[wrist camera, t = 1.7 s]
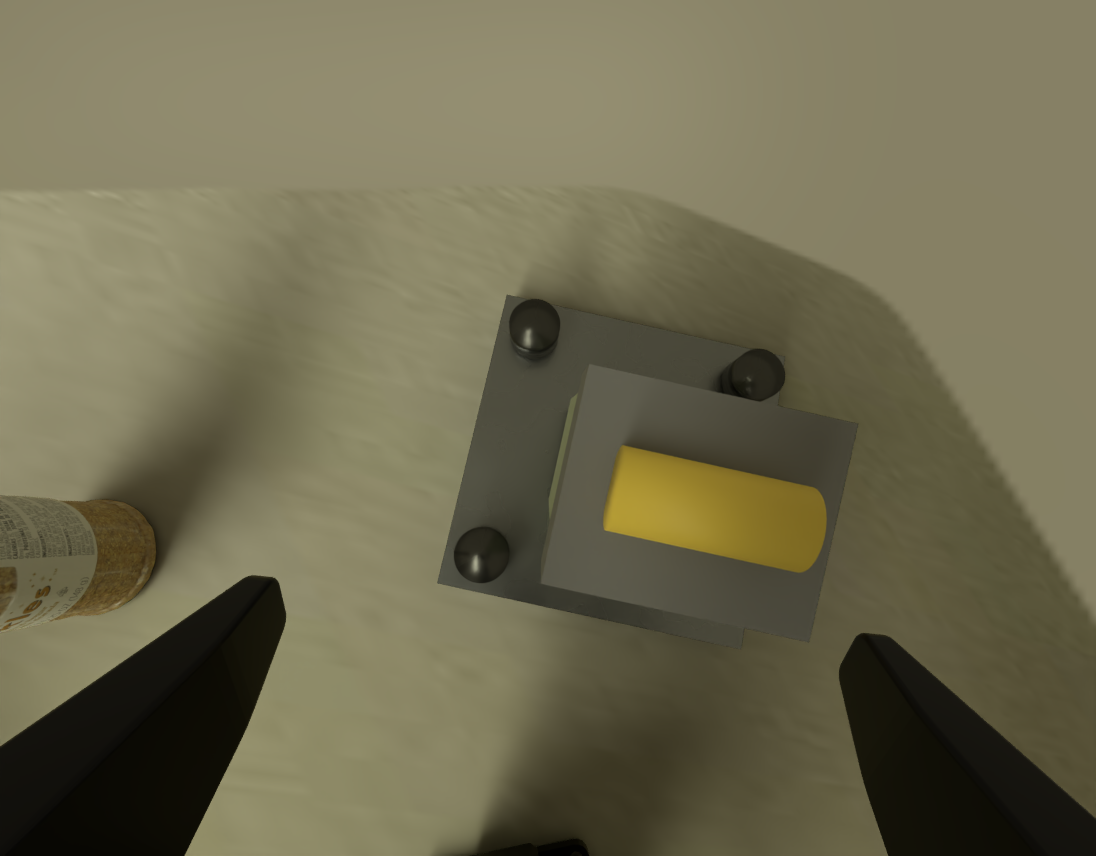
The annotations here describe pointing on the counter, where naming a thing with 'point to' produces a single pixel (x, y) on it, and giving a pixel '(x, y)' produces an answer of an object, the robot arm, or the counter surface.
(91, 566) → the sprinkles bottle
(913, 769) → the robot arm
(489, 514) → the plate
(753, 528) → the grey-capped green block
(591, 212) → the counter surface
